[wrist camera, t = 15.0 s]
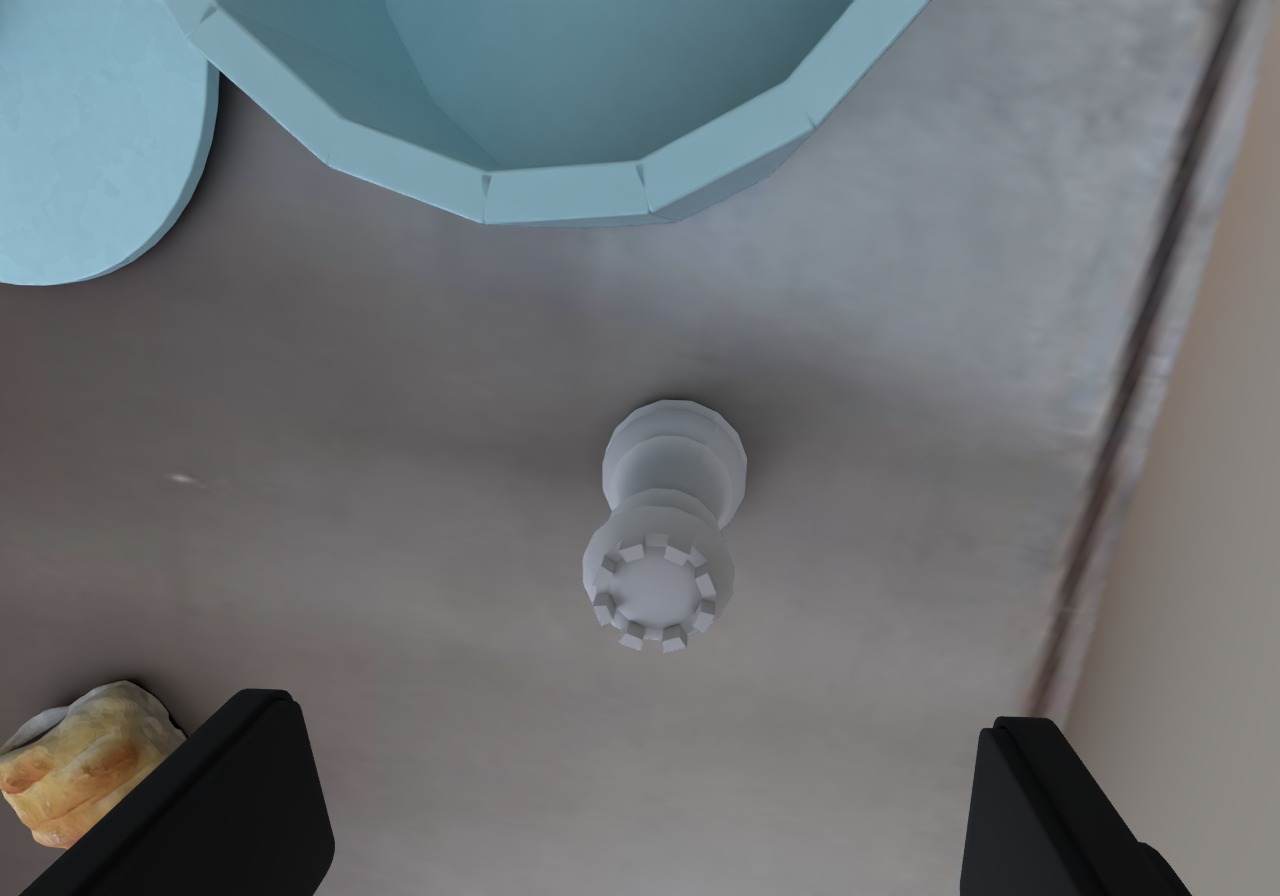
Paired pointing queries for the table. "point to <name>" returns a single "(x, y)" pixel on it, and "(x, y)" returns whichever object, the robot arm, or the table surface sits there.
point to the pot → (549, 94)
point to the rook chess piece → (666, 524)
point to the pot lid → (96, 134)
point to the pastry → (84, 759)
